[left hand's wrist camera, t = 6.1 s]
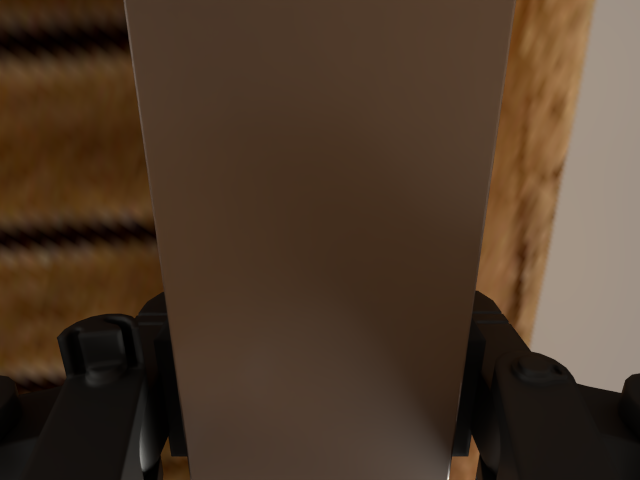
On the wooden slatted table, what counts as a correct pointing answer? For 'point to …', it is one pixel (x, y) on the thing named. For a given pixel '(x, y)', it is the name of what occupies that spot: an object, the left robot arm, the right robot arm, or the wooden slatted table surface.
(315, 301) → the bar
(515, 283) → the wooden slatted table surface
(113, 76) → the wooden slatted table surface
